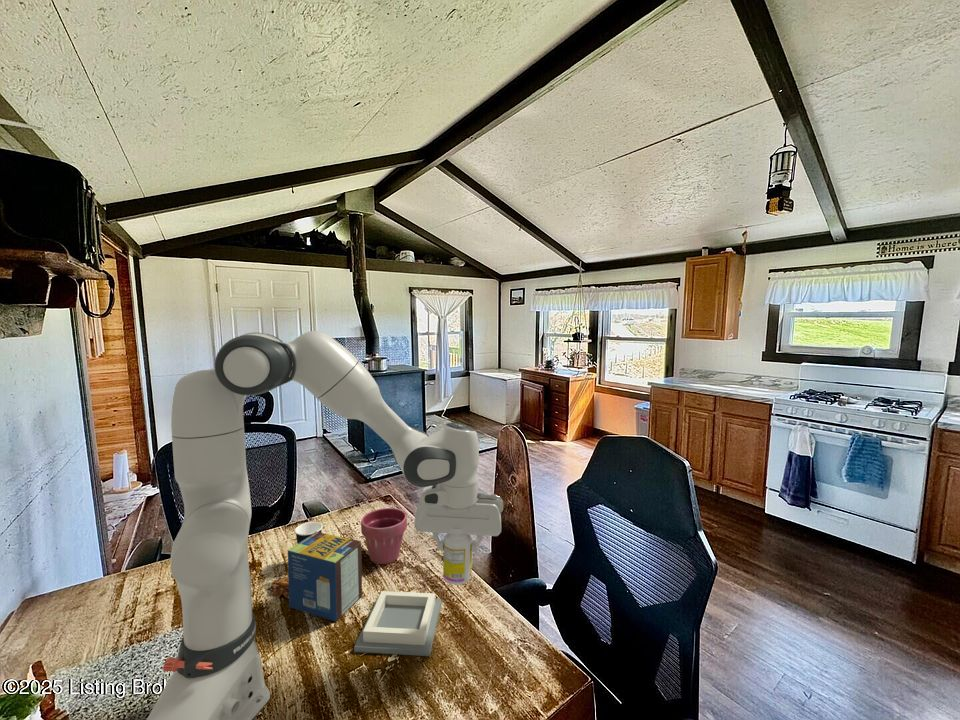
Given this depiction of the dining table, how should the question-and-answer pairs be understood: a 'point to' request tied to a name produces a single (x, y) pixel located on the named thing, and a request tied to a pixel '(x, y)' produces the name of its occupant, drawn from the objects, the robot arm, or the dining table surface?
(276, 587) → the pastry
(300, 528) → the dixie cup
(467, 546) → the supplement bottle
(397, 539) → the plant pot
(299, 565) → the protein box
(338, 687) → the dining table surface
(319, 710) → the dining table surface
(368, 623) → the picture frame
